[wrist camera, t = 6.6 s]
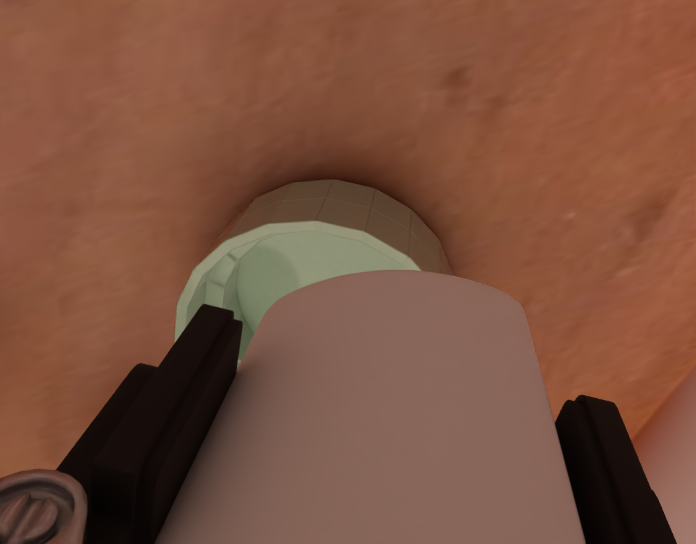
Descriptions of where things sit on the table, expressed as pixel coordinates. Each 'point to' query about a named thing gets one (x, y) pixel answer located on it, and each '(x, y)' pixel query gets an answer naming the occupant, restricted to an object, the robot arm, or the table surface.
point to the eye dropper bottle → (383, 424)
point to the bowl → (305, 248)
